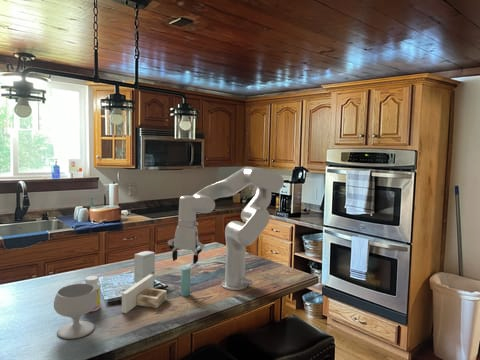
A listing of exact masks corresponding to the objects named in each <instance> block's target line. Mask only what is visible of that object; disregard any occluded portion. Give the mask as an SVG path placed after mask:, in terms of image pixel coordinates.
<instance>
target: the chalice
mask: <svg viewBox="0 0 480 360" xmlns="http://www.w3.org/2000/svg"><path fill="white" fill-rule="evenodd" d="M97 300H98V298H97V293H96V290H95V289H94V287H93V286H92V285H89V284H85V283H75V284H73V283H72V284H68V285H66V286H63V287H61V288H60V289H58V291H57V293H56V295H55V296H54V300H53V309H54V311H55V312H56V313H57V314H58V315H59V316H62V317H67V318H70V319H72V322H69V323H66V324H64V325H62V326H60V327H59V329H58V330H56V331H57V332H56V335H57V336H58V337H60V338H62V339H64V340H65V339H67V340H68V339H69V340H70V339H71V340H72V339H74V340H75V339H79V338H82V337H85V336H88V335H89V334H91V333H93V331H94V330H95V328H96V327H95V326H96V325H95V324H94V323H92V322H91V321H87V320H80V319H81V317H83V316H84V315H86V314H88V313H90V311H91V310H93V308H94V307H95V306H96V304H97Z"/></svg>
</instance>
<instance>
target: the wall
mask: <svg viewBox="0 0 480 360" xmlns="http://www.w3.org/2000/svg"><path fill="white" fill-rule="evenodd" d="M154 282H155V274H154V275H152V274H149V275H148V276H146V277H145V278H143V279H142V280H140V281H139V282H137V283H136V284H133V285H132V286H130V287H129V288H127V289H125V290H124V291H123V292H121V313H123V314H127V313H128V312H130V311H131V310H133V308H135V307H136V306H138V305H137V295H139V294H140V293H141V292H143V291H144V290H145V289H147V288H154Z"/></svg>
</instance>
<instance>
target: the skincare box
mask: <svg viewBox="0 0 480 360" xmlns="http://www.w3.org/2000/svg"><path fill="white" fill-rule="evenodd" d="M155 255H156V252H154V251H151V250H150V251H149V250H144V251H140V252H138V253H134V269H133V270H134V272H133V274H134V275H133V276H134V277H133V281H134V282H139V281H140V280H142V279H143V278H145V277H146V276H148V275H149V274H152V275H154V276H155V272H156V271H155V267H156V264H155V263H156V256H155ZM134 282H133V283H134Z"/></svg>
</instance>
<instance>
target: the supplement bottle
mask: <svg viewBox="0 0 480 360" xmlns="http://www.w3.org/2000/svg"><path fill="white" fill-rule="evenodd" d="M84 281H85V283H84V284H89V285H92V286H93V287H94V289H95V290H96V293H97V298H98V300H97V304H96V306H95V307H94V308H93V310H91V311H90V312H96V311H98V310H99V309H100V308H101V283H100V282H99V277H98V276H97V275H90V276H89V275H88V276H87V277H85V279H84ZM90 312H89V313H90Z"/></svg>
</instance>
